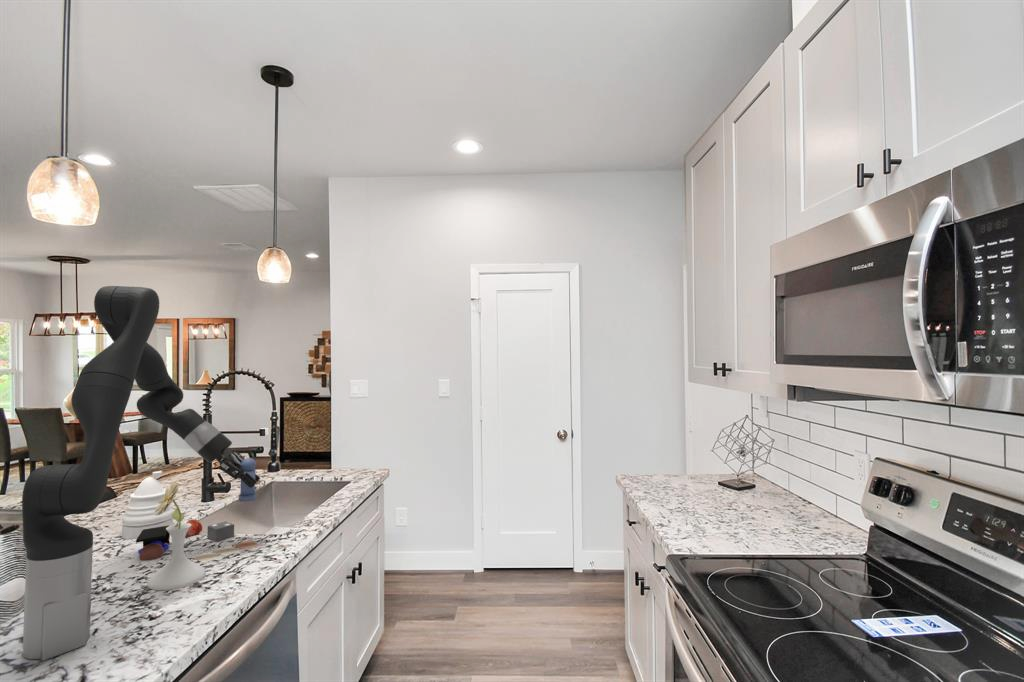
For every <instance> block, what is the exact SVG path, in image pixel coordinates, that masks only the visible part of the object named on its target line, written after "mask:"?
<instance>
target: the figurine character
mask: <svg viewBox="0 0 1024 682" xmlns="http://www.w3.org/2000/svg"><path fill="white" fill-rule="evenodd" d="M167 527H169V525H168V526H162V527H156V528H150V529H143V530H142V532H141V533H140V535H139V536H138V538H137V539H135V544H136V543H142V548H140V549H138V551H137V552H138V553H139V554H138V555H139V559H140V561H142V562H143V561H145V562H146V561H152V560H156V559H159V558H161V557H162V556H163V555H164V552H165V551H166V549H169V547H170V545H169V544H170V538H171V535H170V533H169V532H168V531H167V530H166V528H167Z"/></svg>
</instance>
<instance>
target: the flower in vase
mask: <svg viewBox="0 0 1024 682" xmlns="http://www.w3.org/2000/svg"><path fill="white" fill-rule="evenodd" d="M179 484H180V483H179V482H178V481H176V482H174V481H173V482H172V483H171V484H170V486H169V487H167V488H165V489H166V491H165V494H164V497H163V498H162V499H160V500H159V502H158V503H161V504H160V505H159V506H158V507H157V509H156V510H155V512H157V511H158V512H157V514H156V516H157V515H158V514H159V515H160V514H162V513H163V512H165V511H166V509H167V508H168V507H169V505H170V504H171V505H172V503H173V504H174V506H175V507H176V508H175V510H173V514H172V518H173V520H175V521H176V523H175V524H173V525H171V526H169V527H167V528H166V530H167V531H168V532H169V533H170V538H171V543H172V550H171V551H172V554H171V557H170V560H169V561H168V562H166V564H165V565H163V566H162V567H161V568H159V569H158V570H157V571H156V572H155V573H154V574H153V575H152V576H151V577H150V579H149V580H148V582H147V588H148V589H150V590H153V591H159V592H160V591H161V592H162V591H170V590H172V591H173V590H177V589H180V588H186V587H188V586H191V585H194V584H196V583H198V582H199V581H201V580H202V579H204V578H205V577H206V574H207V572H206V570H205V568H204V567H203V566H202V565H200V564H198V563H197V562H195V561H192V560H190V559H188V558H187V557H186V555H185V550H184V549H185V541H186V540H185V539H186V538H185V536H186V533H187V531H188V529H189V528H190V527H191V524H190V523H186V522H184V523H183V520H184V519H185V515H184V514H183V513H182V512H181V510H180V508H179V505H178V504H177V502H176V501H175V497H176V495H177V493H178V491H179V487H180V485H179ZM181 522H182V523H181Z"/></svg>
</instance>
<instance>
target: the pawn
mask: <svg viewBox="0 0 1024 682" xmlns="http://www.w3.org/2000/svg"><path fill="white" fill-rule="evenodd" d="M241 464H242V468H243V469H244V470H245V471H246V472H247V473H248V474H249V475H251V476H252V477H253V478H254V479H255V474H256V469H255V468H256V467H257V462H256V461H255V459H254V458H252V457H246V458H244V460H243V461H242V462H241ZM247 473H246V474H247ZM239 489H240V492H239V493H240V494H238V502H241V503H242V502H245V503H246V502H251V501H255V500H257V492H256V484H255V485H254V486H253V487H251V488H250V487H249V486H248V485H246V484H245V483H244V482H243V481H242V480H241V479H240V488H239Z"/></svg>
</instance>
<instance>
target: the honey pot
mask: <svg viewBox="0 0 1024 682" xmlns="http://www.w3.org/2000/svg"><path fill="white" fill-rule="evenodd" d="M151 473H152V476H148V477H145V478H144V479H143V480H142V481H141V482H140V483H139V485H138V486H137V488H136V489H135V491H134V492H133V493H131V494H130V495H129V499H130V500H129V503H128V505H127V506H126V510H125V512H124V515H123V517H122V520H121V521H122V522H121V524H122V525H121V537H122V538H123V539H126V538H127V540H129V539H130V540H136V539H137V538H138V536H139V535H140V533H141V532H142V530H143V529H150V528H156V527H162V526H168V525H169V526H171V525H174V519H173V518H172V514H173V513H174V509H173V508H172V503H171V504H170V505H169V507H168V508H167V509H166V511H165V512H163V513H162V514H160V515H159V514H158V515H157V516H156V514H157V512H158V511H157V512H155V510H156V509H157V507H158V506H159V505H160V504H161V503H158V502H159V500H160V499H162V498H163V497H164V494H165V491H166V489H167V488H164V487H163V486H162V484H161V482H160V481H159V480H158V479H160V478H161V477H162V475H163V470H159V471H158V470H157V471H152V472H151Z"/></svg>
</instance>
